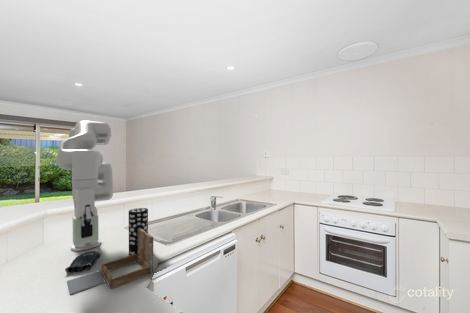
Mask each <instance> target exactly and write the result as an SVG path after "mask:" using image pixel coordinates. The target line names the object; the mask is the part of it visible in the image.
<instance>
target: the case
mask: <svg viewBox="0 0 470 313" xmlns="http://www.w3.org/2000/svg"><path fill="white" fill-rule="evenodd" d="M134 263H137V264H138V265H139V266H140V267H141V268H139V269H135V270H133V271H130V272H127V273H124V274H121V275H119V276H116V277H113V276H112V274H111V272H110V271H111V270H115V269H118V268H121V267H125V266H127V265H131V264H134ZM154 269H155V268H154V236H152V235H151V234H150V233H149V232H148V233H147V232H146V231H144V230H143V229H141V228H138V254H134V255H131V256H129V255H128V256H125V257H121V258H118V259H115V260H111V261H107V262H105V263H102V264H101V274H103V275H102V276H103V278H105V279H104V280H105V282H107V284H108V286H109V288H110V289H111V290H112V289H115V288H118V287H121V286H123V285H126V284H128V283H131V282H135V281H136V280H139V279H142V278H144V277H148V276H150V277H151V276H153V274H154V271H155V270H154Z"/></svg>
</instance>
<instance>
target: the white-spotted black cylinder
mask: <svg viewBox="0 0 470 313" xmlns="http://www.w3.org/2000/svg"><path fill="white" fill-rule="evenodd" d="M138 228H141V229H143V230H144V231H146V232H147V233H148V234H149V209H148V208H146V207H138V208H137V207H136V208H132V209H128V256H131V255H134V254H138Z"/></svg>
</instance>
